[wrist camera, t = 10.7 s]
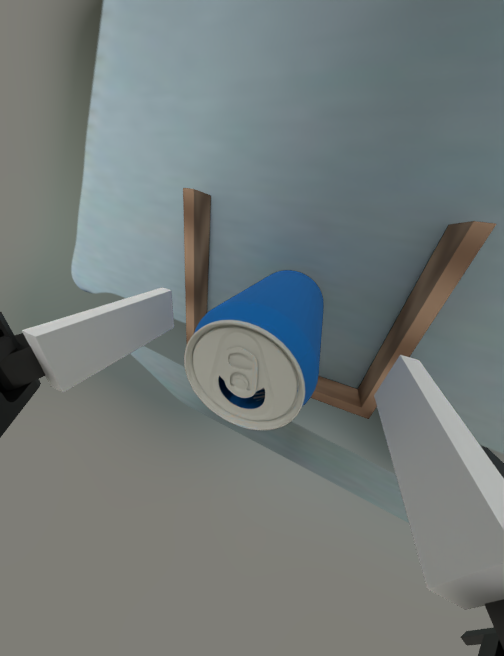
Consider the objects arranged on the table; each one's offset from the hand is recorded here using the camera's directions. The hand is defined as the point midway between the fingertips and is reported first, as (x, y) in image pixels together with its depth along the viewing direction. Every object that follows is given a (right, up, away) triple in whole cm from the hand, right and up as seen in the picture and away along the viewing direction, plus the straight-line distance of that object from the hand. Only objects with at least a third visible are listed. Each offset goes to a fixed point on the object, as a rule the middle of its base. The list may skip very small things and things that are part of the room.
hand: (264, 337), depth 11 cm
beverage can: (+3, +3, +8) cm, 9 cm away
